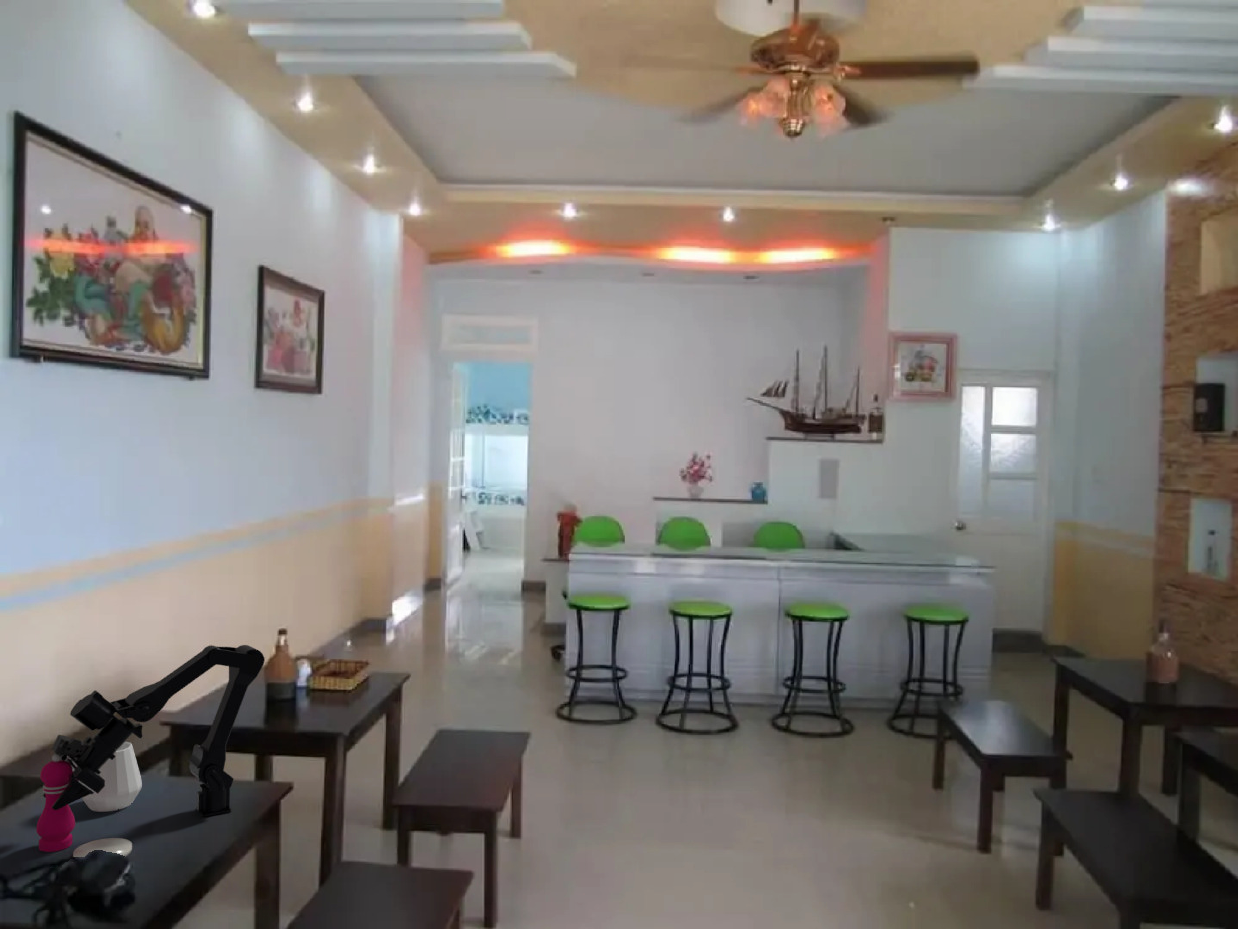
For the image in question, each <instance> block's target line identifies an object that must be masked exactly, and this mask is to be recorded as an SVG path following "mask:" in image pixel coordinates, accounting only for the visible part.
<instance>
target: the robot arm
mask: <svg viewBox="0 0 1238 929" xmlns="http://www.w3.org/2000/svg"><path fill="white" fill-rule="evenodd" d="M265 659H266V658H265V657H264V654H263V652H262V651H261V650H259V649H256V648H254V647H252V646H250V645H248V644H242V645H239V646H237V647H232V646H216V645H212V644H210V645H207V646H206V647H205V646H204V648H203V649H202V651H200V652H198V653H197V654H196V655H194V656H192V658H190V659H189V660H187V661H186V662H184V663H183V664H182V665H180V666H179V667H177V668H176V669H175V670H173V671H171V673H169V674H167V675H166V676H164V677H163V678H162V679H160V680H159V681H156V682H154V683H151V684H149V685H146V686H143V687H141V688H139V689H137V690H136V691H133V692H131V693H130V694H129V695H127V696H126V697H124V698H121V699H117V700H114V701H109V700H107V699H106V698H105V697H104V696H103V695H102V694H101V693H100V692H99V691H98V690H93V691H92V692H91V693H90V694H87V695H86V696H84V697H83V698H82V699H79V700H78V701H77V702H76V703H75V704H74V706H73V707H72V708H71V709H70V710H71V711H70V713H69V714H70V716H71V717H72V718H74V719H75V720H76V721H77V722H79V723H80V724H82V726H84V727H86V728H87V729H89V730H90V731H95V730H98V732H97V733H96V734H95V735H93V737H92V736H87V737H85V739H84V740H81V739H79V738H75V737H71V736H66V735H62V734H58V735H57V736H56V738H55V740H54V743H53V744H52V746H51V750H53V753H54V754H58V755H61V757H62V758H61V760H64V761H67V762H69V763H70V764H71V766H72V770H73V773H72V775H70V774H69V780H68V781H69V784H68V786H67V787H66V788H65V790H64V791H63V792H62V794H61V795H60V796H59V798H58V799H57V800H56V802H55V803H54V804H53V806H52V809H54V810H58V809H60V808H62V807H64V806H66V805H69V804H72V803H73V802H74V803H75V802H77V801H79V800H80V799H82V798H83V797H85V796H87V795H90V794H93V793H94V792H93V791H95V792H96V793H99V792H100V791H101V790H102V789H103V788H104V787H105V780H104V779H103V778H102V777H101V776H100V775H99V774H100V773H101V772H100V770H99V769H100V768H101V767H102V766H103V765H104V764H105V763H106V762H107V760H108V759H109V758H110V759H111V760H113V759H114V758H115V757H116V756H115V755H114V753H115V752H116V751H117V750H118V749H119V748H120V747H121V746H122V744H123V743H124V742H127V740H128V739H129V738H130V737H131V736H132V735H135V736H136V737H137V738H138V739H142V738H143V725H142V724H141V723H147V722H148V721H150V720H152V719H153V718H154V717H156V716H157V715H158V713H159V712H160V711H162V710H163V708H164V707H165V706H166V705H167V704H168V702H169V700H170V699H171V698H172V697H173V696H174V695H176V694H177V693H178V692H180V691H182V690H183V689H184V688H186V687H187V686H188V685H190V684H191V683H192V682H194V681H195V680H197V679H198V678H199V677H201V676H202V675H204V674H205V673H207V672H209V670H211V669H212V668H213V667H215V666H224V667H228V682H227V684H226V688H225V690H224V693H223V695H222V698H221V700H220V703H219V705H218V709H217V710H216V714H215V716H214V719H213V721H212V723H211V726H210V730H209V732H208V734H207V737H206V739H205V740H204V741H203V742H202V744H201V745H199V744H194V746H193V750H192V753H191V755H190V757H189V759H188V760H187V761H188V762H189V766H188V767H189V771H190V773H191V774H192V775H193V776H194V777H196V778H197V780H198V782H200V783H201V784H199V786H198V787H199V791H197V792H196V810H197V811H198V813H199V814H200V815H201V817H209V816H210V817H211V816H215V815H219V814H220V815H221V814H225V813H231V812H232V810H233V809H232V807H231V806H230V804H231V802H230V800H231V797H230V796H231V787H232V785H233V782H234V777H232V776H231V775H230V774H229V773H227V772H226V771H225V765H226V759H227V757H226V756H227V743H228V740H229V737H230V735H231V732H232V729H233V728H234V725H235V722H236V720H237V718H238V715H239V711H240V709H241V705H242V703H243V701H244V698H245V696H246V692H247V690H248V688H249V686H250V685H251V684H252V683H253V681H254V680H256V679H257V677H258V676H259V674H260V672H261V670H262V668H263V667H264V664H265ZM115 714H117V715H119V716H120V717H121V718H120V719H119V718H118V717H117V716H116V715H115ZM130 719H133V720H134V721H135V722H137V723H134V722H132V721H131V720H130ZM92 790H93V791H92ZM42 797H43V798H45V799H46V796H45V793H44V792H43V795H42Z"/></svg>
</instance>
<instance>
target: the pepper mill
mask: <svg viewBox="0 0 1238 929" xmlns="http://www.w3.org/2000/svg"><path fill="white" fill-rule="evenodd" d="M61 758H62V757H61V755H58V754H56V753H54V754H53V755H52V756H51V760H52V761H49V762H47V763H46V764H45V765H44V766H43V767H42V768H41V770H40V773H39V774H40V777H39V778H40V780H41V781H42V782H43V783H44V784H43V785H42V788H43V790H42V793H43V794H44V793H45V796H46V798H45V802H44V803H45V804H44V806H43V810H42V812H41V814H40V816H39V818H38V820H37V822H36V823H37V824H36V829H35V830H36V833H37V834H38V836H39V837H40V838H39V840H38V850H39V851H41V852H44V851H45V852H46V853H54V852H60V851H63V850H65V849H68V848H70V847H71V846H72V845H73V834H72V831H74V829H75V827H76V820H75V818H76V817H75V816H74V813H73V812H72V810H71V807H70V806H69V804H68V805H66V806H64V807H62V808H60V809H58V810H54V809H52V806H53V804H54V803H55V802H56V800H57V799H58V798H59V796H60V795H61V794H62V792H63V791H64V790H65V788H66V787H67V786H68V784H69V781H68V780H69V774H70V775H72V773H73V770H72V766H71V764H70V763H69V762H67V761H64V760H61ZM45 852H44V853H45Z"/></svg>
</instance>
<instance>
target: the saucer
mask: <svg viewBox="0 0 1238 929" xmlns="http://www.w3.org/2000/svg"><path fill="white" fill-rule="evenodd" d="M94 850H103V851H106V852H112V853H117V854H120V855H123V856H125V857H127V856H129V855H130V853H131V852H132V850H133V843H132V841H130V840H129V839H126V838H121V837H110V838H109V837H108V838H101V839H96V840H92V841H89V842H86V843H84V844H81V845H79V846H77V847H76V848H75V849H74V850H73V852H72V854H73V855H72V858H73V857H85V856H86V855H87V854H88V853H89V852H92V851H94Z"/></svg>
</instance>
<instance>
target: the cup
mask: <svg viewBox="0 0 1238 929" xmlns="http://www.w3.org/2000/svg"><path fill="white" fill-rule="evenodd" d="M114 755H115V756H116V757H115V758H114V759H113V760H111V759H110V758H109V759H108V760H107V762H106V763H105V764H104V765H103V766H102V767H101V768H100V769H99V770H100V772H101V773H100V774H99V775H100V776H101V777H102V778H103V779H104V780H105V787H104V788H103V789H102V790H101V791H100V792H99V793H96V792H95V791H93V790H92V791H93V792H94V793H93V794H90V795H87V796H85V797H83V798H81V800H83V801H84V803H85V805H86V806H87V807H88V809H89V810H91V811H93V812H97V813H98V812H99V813H100V812H101V813H102V812H103V813H104V812H106V813H107V812H114V811H118V809H119V810H123V809H125V808H127V807H130V805H132V804H133V802H134V800H135V799H136V798H137V796H138V794H140V791H141V790H142V787H143V783H142V782H143V781H142V777H141V772H140V768H139V766H138V761H137V758H136V755H135V750H134V747H133V744H132V743H131V742H129V741H125V742H124V743H123V744H122V746H121V747H120V748H119V749H118V750H117V751H116V752H115V753H114ZM131 803H132V804H131Z"/></svg>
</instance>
